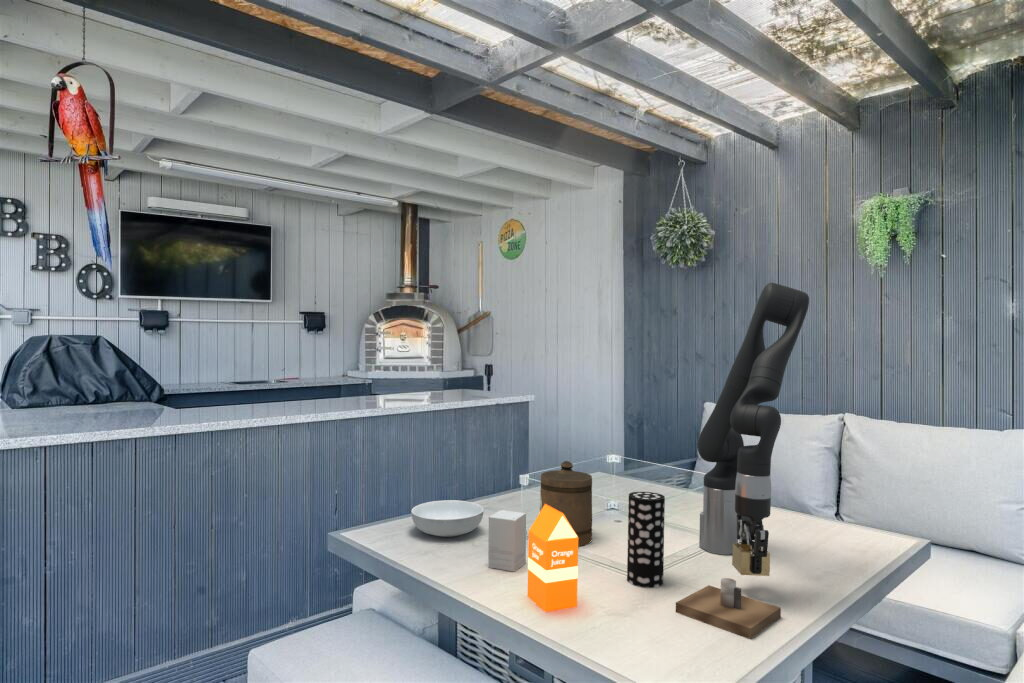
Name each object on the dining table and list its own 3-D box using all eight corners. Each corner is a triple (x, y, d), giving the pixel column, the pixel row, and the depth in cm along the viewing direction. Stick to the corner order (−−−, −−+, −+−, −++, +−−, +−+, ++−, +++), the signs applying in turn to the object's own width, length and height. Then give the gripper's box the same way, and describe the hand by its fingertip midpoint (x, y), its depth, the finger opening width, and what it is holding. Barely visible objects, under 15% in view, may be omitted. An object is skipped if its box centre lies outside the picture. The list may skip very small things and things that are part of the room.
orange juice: (544, 612, 129) (546, 515, 129) (526, 596, 137) (528, 504, 137) (577, 606, 132) (579, 511, 132) (558, 591, 140) (560, 501, 140)
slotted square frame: (741, 574, 138) (741, 552, 138) (732, 564, 144) (732, 542, 144) (769, 576, 138) (770, 553, 138) (759, 565, 144) (760, 544, 144)
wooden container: (561, 528, 188) (563, 455, 188) (602, 539, 178) (603, 462, 178) (528, 538, 178) (529, 461, 178) (569, 551, 167) (570, 469, 167)
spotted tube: (642, 590, 142) (644, 501, 142) (619, 577, 149) (621, 493, 149) (670, 584, 146) (672, 498, 146) (647, 572, 153) (648, 490, 153)
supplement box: (526, 563, 158) (527, 513, 158) (514, 572, 151) (515, 520, 151) (500, 558, 161) (501, 509, 161) (486, 567, 154) (488, 516, 154)
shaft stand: (675, 612, 130) (676, 578, 130) (708, 594, 140) (709, 562, 140) (750, 638, 119) (751, 602, 119) (780, 617, 129) (781, 583, 129)
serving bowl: (422, 520, 194) (422, 498, 194) (488, 524, 191) (489, 501, 191) (401, 541, 173) (401, 516, 173) (475, 546, 170) (476, 520, 170)
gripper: (782, 502, 134) (779, 580, 134) (758, 486, 148) (755, 556, 148) (747, 501, 134) (744, 579, 134) (726, 485, 148) (723, 555, 149)
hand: (750, 567), depth 141 cm, fingers closed on slotted square frame, 6 cm apart
